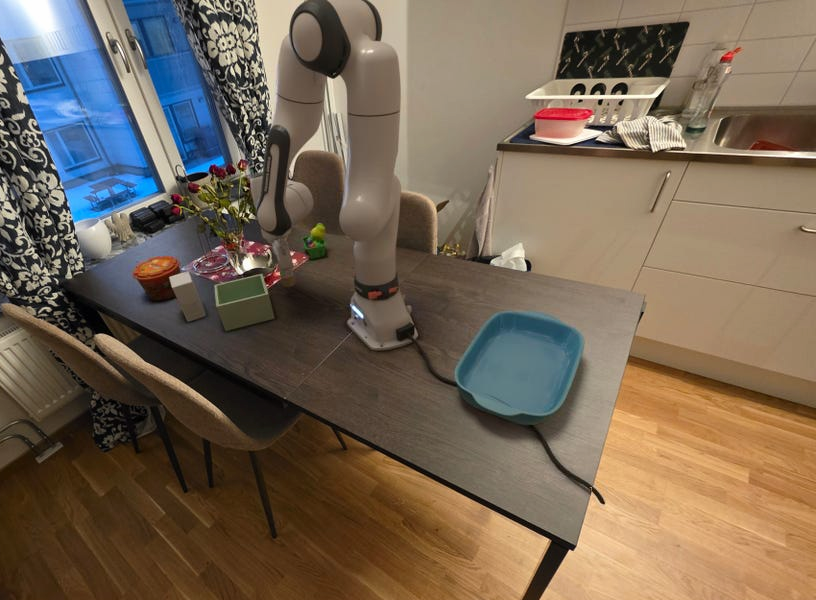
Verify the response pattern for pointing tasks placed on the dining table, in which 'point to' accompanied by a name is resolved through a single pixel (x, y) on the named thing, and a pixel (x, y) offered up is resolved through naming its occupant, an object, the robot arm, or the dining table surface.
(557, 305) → the dining table surface
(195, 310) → the small box
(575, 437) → the dining table surface
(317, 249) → the fruit basket
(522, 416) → the casserole dish
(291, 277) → the sprinkles bottle
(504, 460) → the dining table surface
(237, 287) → the bin
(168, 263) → the food container
